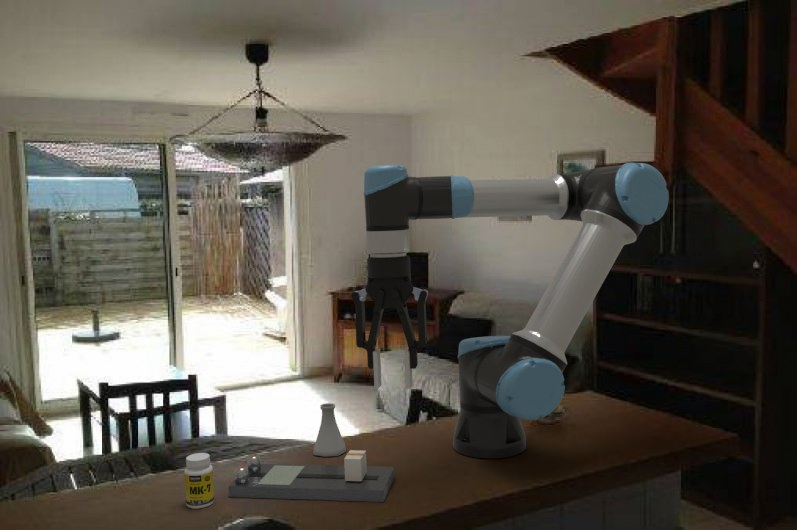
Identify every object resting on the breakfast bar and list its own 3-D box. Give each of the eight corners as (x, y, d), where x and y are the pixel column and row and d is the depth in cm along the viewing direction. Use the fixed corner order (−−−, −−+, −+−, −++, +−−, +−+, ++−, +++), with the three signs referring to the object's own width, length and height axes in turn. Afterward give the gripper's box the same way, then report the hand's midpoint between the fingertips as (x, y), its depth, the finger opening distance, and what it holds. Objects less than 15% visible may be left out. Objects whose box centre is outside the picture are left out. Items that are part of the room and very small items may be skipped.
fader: (366, 471, 126) (365, 449, 125) (361, 481, 121) (360, 458, 121) (350, 471, 126) (349, 449, 126) (345, 480, 122) (344, 457, 121)
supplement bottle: (187, 511, 117) (184, 463, 116) (184, 501, 121) (181, 454, 120) (216, 505, 119) (213, 458, 118) (212, 495, 123) (209, 450, 122)
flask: (341, 458, 139) (339, 410, 139) (307, 457, 141) (305, 409, 140) (351, 446, 146) (349, 400, 146) (318, 445, 148) (316, 400, 147)
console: (394, 477, 128) (393, 453, 128) (383, 502, 117) (382, 475, 117) (252, 473, 133) (250, 450, 133) (229, 496, 122) (227, 471, 122)
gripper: (442, 252, 122) (446, 381, 123) (343, 255, 125) (349, 381, 126) (437, 255, 114) (442, 392, 116) (332, 257, 117) (338, 391, 119)
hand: (393, 386), depth 121 cm, fingers open, 5 cm apart
